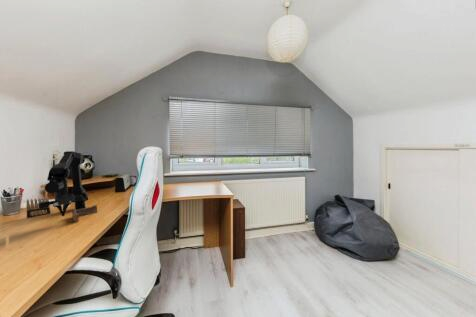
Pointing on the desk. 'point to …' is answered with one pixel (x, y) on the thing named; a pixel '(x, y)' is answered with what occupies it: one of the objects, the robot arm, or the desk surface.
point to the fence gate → (75, 217)
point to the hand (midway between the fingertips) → (63, 215)
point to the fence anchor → (86, 210)
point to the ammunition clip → (36, 209)
